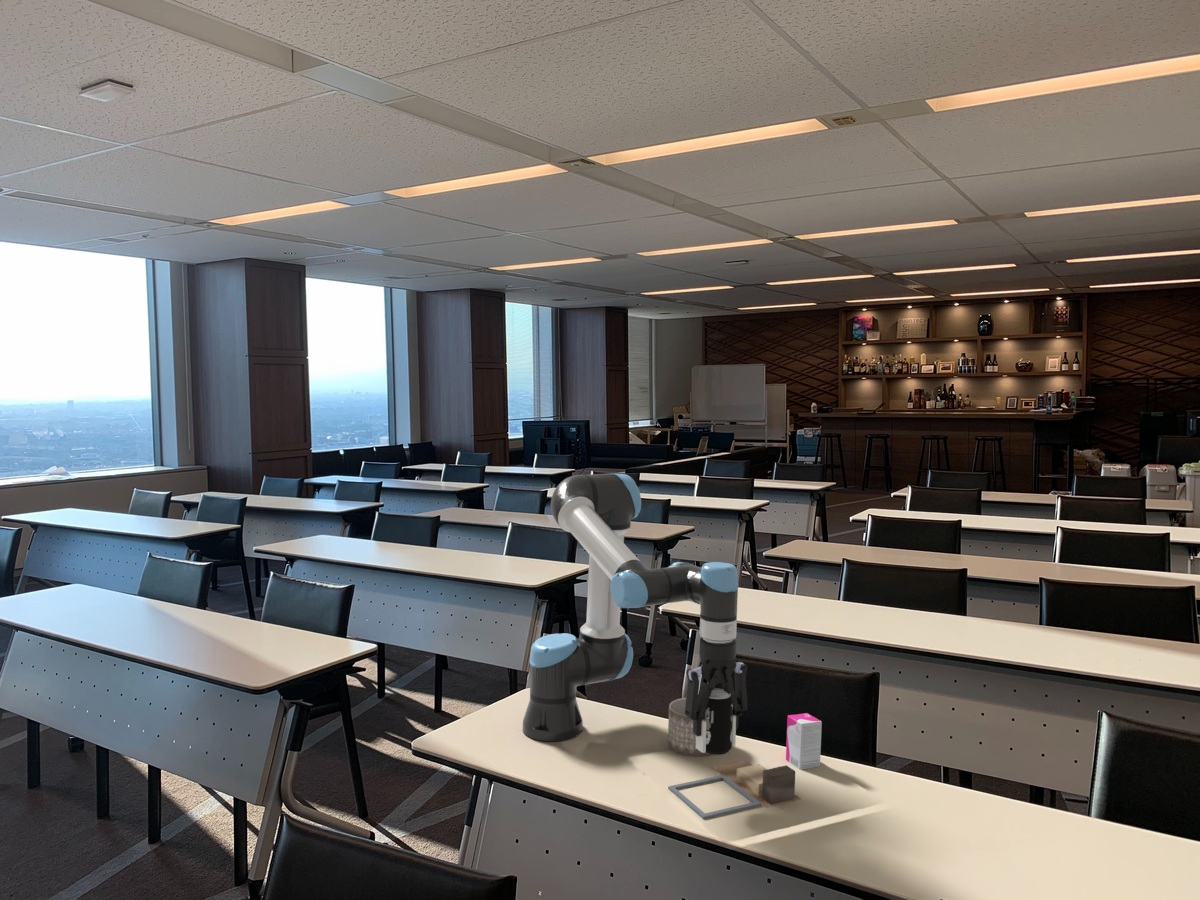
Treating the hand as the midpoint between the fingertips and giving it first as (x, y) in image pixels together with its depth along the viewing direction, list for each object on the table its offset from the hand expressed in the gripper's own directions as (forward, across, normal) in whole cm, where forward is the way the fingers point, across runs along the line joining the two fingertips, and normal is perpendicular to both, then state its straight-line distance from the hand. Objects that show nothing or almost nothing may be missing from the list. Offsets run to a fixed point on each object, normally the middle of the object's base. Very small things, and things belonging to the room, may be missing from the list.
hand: (715, 747), depth 174 cm
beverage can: (+1, 0, 0) cm, 1 cm away
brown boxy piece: (+12, +12, +2) cm, 17 cm away
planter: (+12, +10, +24) cm, 29 cm away
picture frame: (+12, 0, 0) cm, 12 cm away
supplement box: (+12, +28, +6) cm, 31 cm away
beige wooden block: (+11, +12, +1) cm, 16 cm away
